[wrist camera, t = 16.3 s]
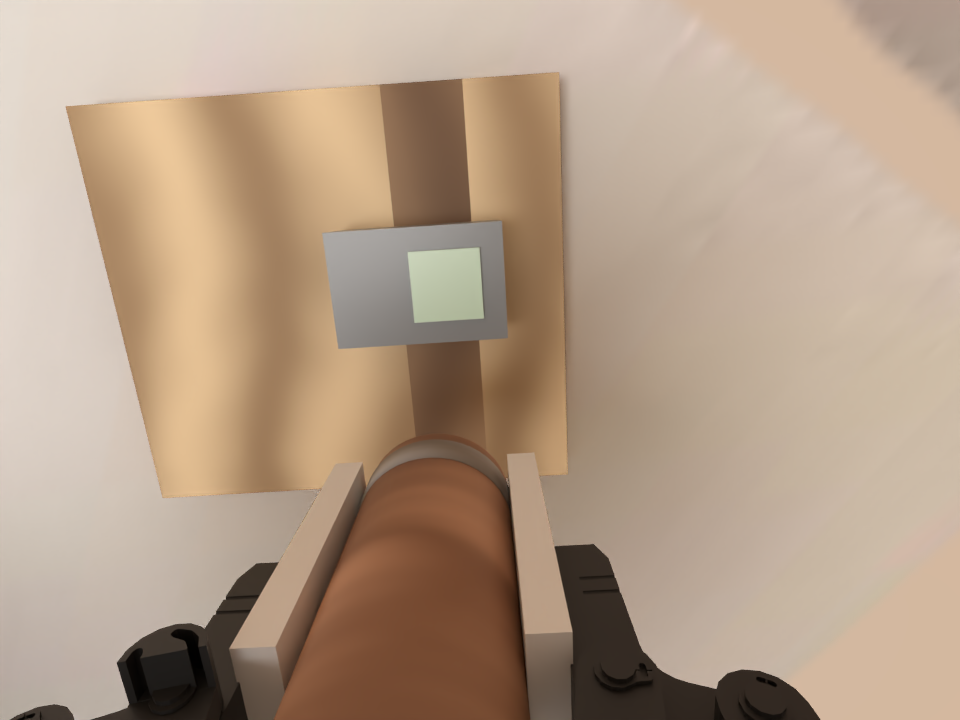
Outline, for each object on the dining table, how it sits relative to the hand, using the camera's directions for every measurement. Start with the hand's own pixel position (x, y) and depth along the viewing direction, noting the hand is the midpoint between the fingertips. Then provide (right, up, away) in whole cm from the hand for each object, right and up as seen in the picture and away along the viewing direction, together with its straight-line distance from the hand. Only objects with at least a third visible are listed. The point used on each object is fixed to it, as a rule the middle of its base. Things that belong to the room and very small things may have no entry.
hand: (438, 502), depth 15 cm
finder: (-1, +7, +6) cm, 10 cm away
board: (-4, +6, +8) cm, 11 cm away
